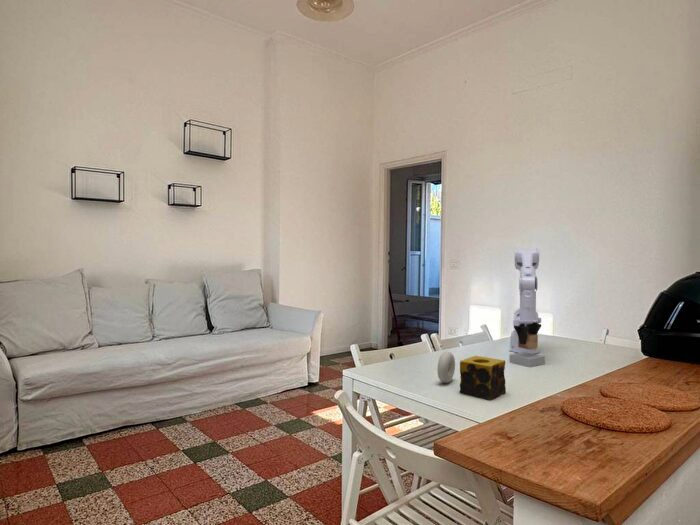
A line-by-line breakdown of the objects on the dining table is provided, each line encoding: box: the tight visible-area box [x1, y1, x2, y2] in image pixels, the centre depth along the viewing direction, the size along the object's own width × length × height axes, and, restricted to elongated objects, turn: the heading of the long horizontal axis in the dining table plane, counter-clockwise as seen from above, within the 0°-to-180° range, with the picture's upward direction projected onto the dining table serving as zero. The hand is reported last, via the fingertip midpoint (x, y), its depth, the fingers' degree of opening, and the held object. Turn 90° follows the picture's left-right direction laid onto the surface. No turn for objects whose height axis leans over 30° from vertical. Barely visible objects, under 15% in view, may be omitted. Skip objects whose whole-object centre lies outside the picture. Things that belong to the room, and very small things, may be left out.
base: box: [509, 352, 546, 368], centre depth 174 cm, size 9×9×3 cm
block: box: [518, 333, 539, 350], centre depth 174 cm, size 5×5×5 cm
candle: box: [459, 355, 507, 401], centre depth 137 cm, size 10×10×10 cm
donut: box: [436, 351, 456, 384], centre depth 148 cm, size 10×4×10 cm, turn 148°
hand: (527, 343), depth 174 cm, fingers closed on block, 5 cm apart
